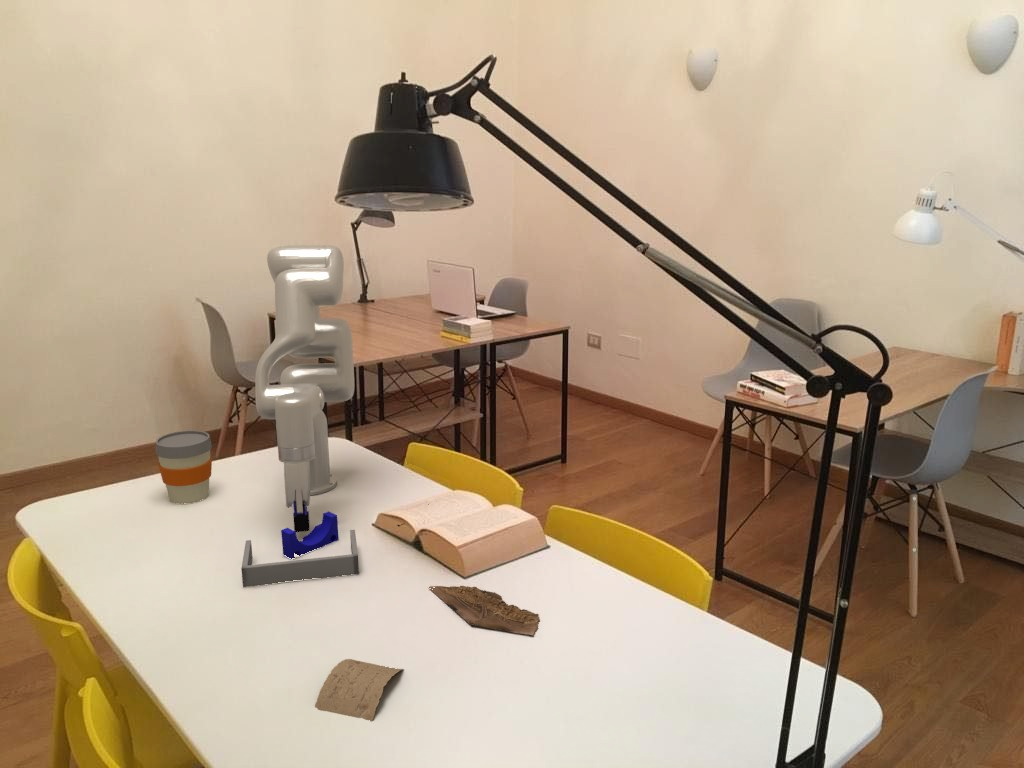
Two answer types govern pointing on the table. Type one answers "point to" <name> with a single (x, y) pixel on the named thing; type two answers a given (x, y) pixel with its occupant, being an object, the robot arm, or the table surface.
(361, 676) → the brown curved piece
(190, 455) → the reusable coffee cup
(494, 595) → the wooden fragment
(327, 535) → the blue curved cradle
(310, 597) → the table surface
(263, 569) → the u-shaped bracket
